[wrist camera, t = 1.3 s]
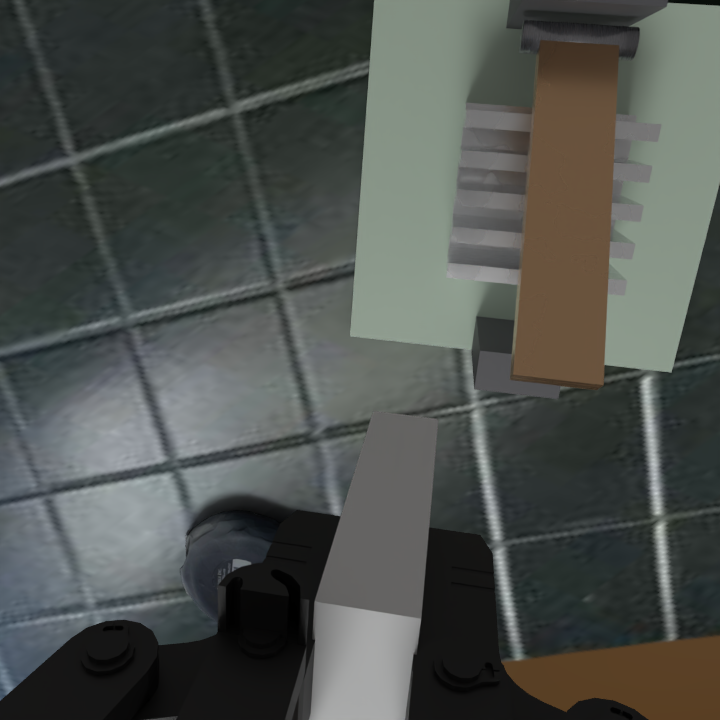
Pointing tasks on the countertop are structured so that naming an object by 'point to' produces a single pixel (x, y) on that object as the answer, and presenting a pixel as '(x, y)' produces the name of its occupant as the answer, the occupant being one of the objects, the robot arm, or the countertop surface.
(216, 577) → the electronic device
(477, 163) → the heatsink
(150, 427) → the countertop surface
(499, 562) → the countertop surface
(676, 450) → the countertop surface
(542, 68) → the strap
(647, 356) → the board
